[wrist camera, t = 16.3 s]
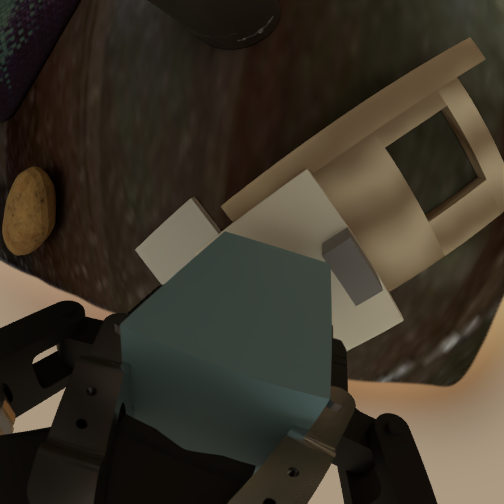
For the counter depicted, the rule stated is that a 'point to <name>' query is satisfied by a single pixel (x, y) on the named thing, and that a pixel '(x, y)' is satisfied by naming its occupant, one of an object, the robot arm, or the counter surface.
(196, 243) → the mat
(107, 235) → the counter surface
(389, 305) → the cover
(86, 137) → the counter surface
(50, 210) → the potato
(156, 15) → the counter surface
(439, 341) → the counter surface
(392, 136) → the puzzle board
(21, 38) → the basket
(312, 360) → the block
